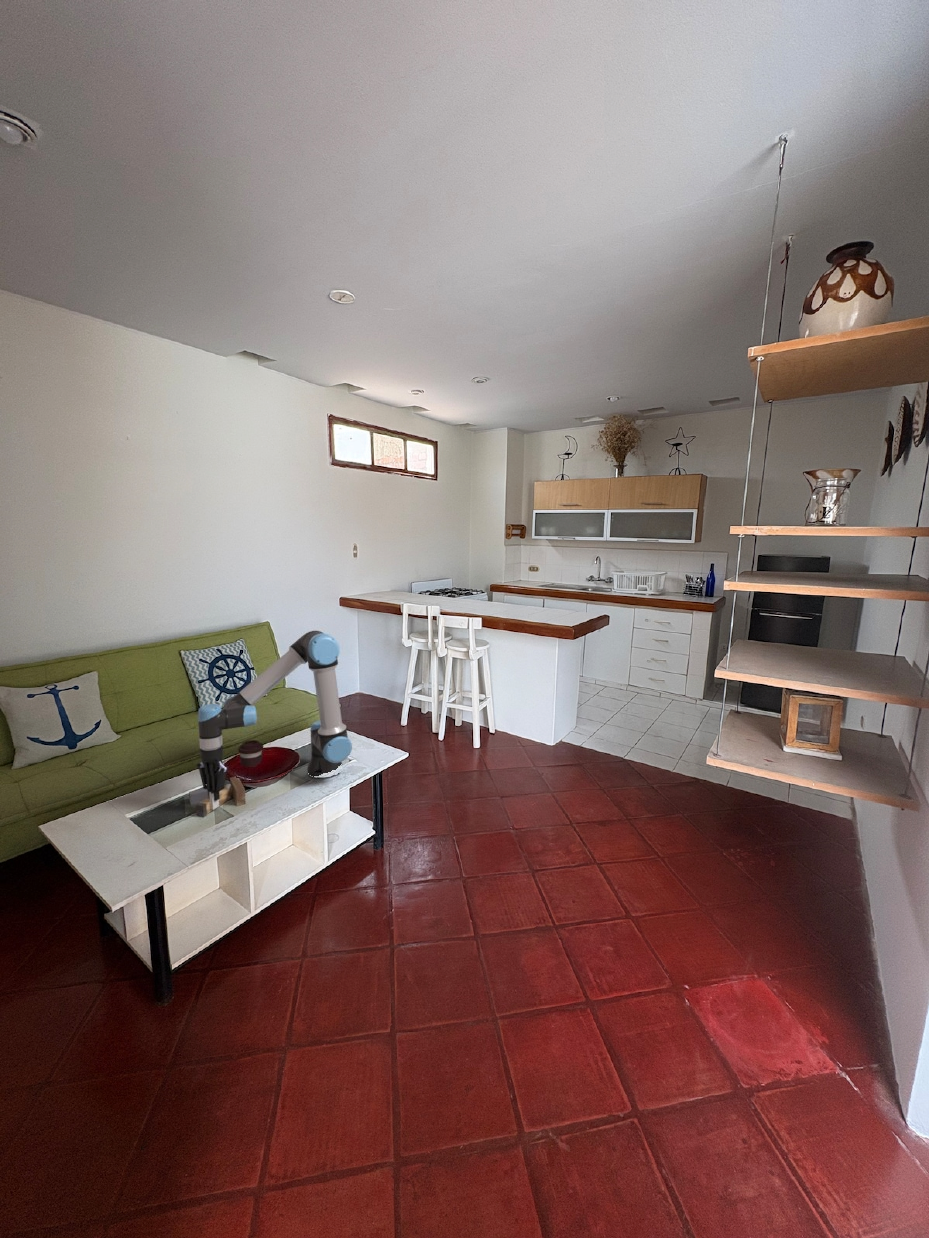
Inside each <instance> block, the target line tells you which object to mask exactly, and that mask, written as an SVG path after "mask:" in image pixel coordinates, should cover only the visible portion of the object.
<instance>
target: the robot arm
mask: <svg viewBox="0 0 929 1238" xmlns="http://www.w3.org/2000/svg"><path fill="white" fill-rule="evenodd" d="M339 655H340V645H339V643H338V641H337V640H336V638H335V637H333V636H332V635H330V634H328V633H324V632H322V631H320V630H311V631H307V632H306V633H304V634H303V635H302V636H300V637H299V638H298V639H297V640H296V641H295V642H293V643H292V644H291V645H290V646H289V648H288V650H287V652H286V653H284V654H283V655H282V656H281V657H280V658H278V659H277V660H276V661H274V662H273V664H271V665H270V666H268V668H266V669H265V670H264V671H263V672H261V673H260V674H259V675H258V676H257V677H256V678H255V679H253V680H251V682H250V683H248V684H247V685H246V686H245V687H243V688H242V689H241V690H240V691H239V692H238V693H237V694H236V695H234V696H233V695H232V696H229V697H228V698H226V699H225V701H224V702H223V708H222V705H220V704H217V703H211V704H210V703H209V704H204V705H202V706H200V707H199V708H198V711H197V712H198V714H197V716H198V717H197V722H198V733H199V734H198V737H199V738H198V740H199V741H198V742H199V748H200V750H199V755H200V759H201V762H199V763H197V764H196V766H197V767H196V768H197V769H198V771H199V775H200V779H201V784H202V787H203V788H202V789H207V791H208V797H209V799H210V809H212V810H213V811H214V810H216V809H217V808H219V807H220V806H219V798H220V797H219V791H221V790H223V789H224V788H225V785H226V784H225V783H226V777H227V771H228V770H229V765H228V766H227V765H226V766H225V765H224V762H223V759H222V758H223V756H224V746H223V742H224V741H223V730H230V729H237V728H243V727H250V726H253V725H255V724H257V721H258V715H257V708H256V706H255V704H257V702H259V700H261V699H262V698H263V697H264V696H266V695H267V694H268V693H270V691H271V690H273V689H274V688H275V687H276V686H277V685H279V684H280V683H281V682H282V681H283V680H284V679H285V678H286V677H288V676H289V675H291V673H292V672H294V671H295V670H296V669H297V668H298V667H299V666H301V665H305V664H307V665H308V669H309V670H310V671H311V672H312V673H313V680H314V687H315V694H316V700H317V702H316V703H317V709H318V714H319V715H318V716H319V720H317V721H314V722H312V723H311V725H310V729H309V730H310V731H309V732H310V751H311V752H310V754H311V755H310V760H309V762H308V765H307V769H306V770H307V774H308V773H309V775H311V776H313V777H314V776H319V775H321V774H323V773H328V772H331V771H332V770H336V769H337V768H338V766H340V765H341V764H342V765H343V761H345V760H346V759H347V758H348V757H349V756H350V755H351V753H352V750H353V743H352V742H351V739H350V738H349V736H348V730H347V725H346V724H344V723H343V721H342V713H341V712H342V711H341V705H340V697H339V690H338V683H337V675H336V668H337V666H338V665H339V661H338V658H339ZM309 775H308V776H309ZM313 777H312V778H313ZM215 808H216V809H215Z"/></svg>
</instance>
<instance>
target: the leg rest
mask: <svg viewBox="0 0 929 1238" xmlns="http://www.w3.org/2000/svg"><path fill="white" fill-rule="evenodd" d="M188 794H189V795H188V796H189V804H190V805H191V806H192V805H196V804H198V803H200V802H202V801H203V800H205V799H207V798H208V797H209V794H208V791H207V789H204V788H200V789H195V790H192V791H189V792H188Z"/></svg>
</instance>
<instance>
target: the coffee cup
mask: <svg viewBox="0 0 929 1238" xmlns="http://www.w3.org/2000/svg"><path fill="white" fill-rule="evenodd" d="M237 749H238V753H239V760H240V766H241V765H242V766H244V767H256V766H257V765H258V764H260V763H261V761H262V762H263V750H264V744H263V743H262V742H260V741H259V740H255V739H251V740H250V739H249V740H246V741H244V742H242V743H241V745H240V746H238V748H237Z"/></svg>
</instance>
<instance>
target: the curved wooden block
mask: <svg viewBox="0 0 929 1238" xmlns="http://www.w3.org/2000/svg"><path fill="white" fill-rule="evenodd" d="M236 776H237V777H239V776H238V775H236ZM236 776H232V777H229V784H231V797H232V799H233V800H234V802H235V803H234V804H235V805H236V806H237V807H239V806H243V805H246V789H245V787H244V785H243V783H242V781H241V779H240V778H236Z"/></svg>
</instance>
